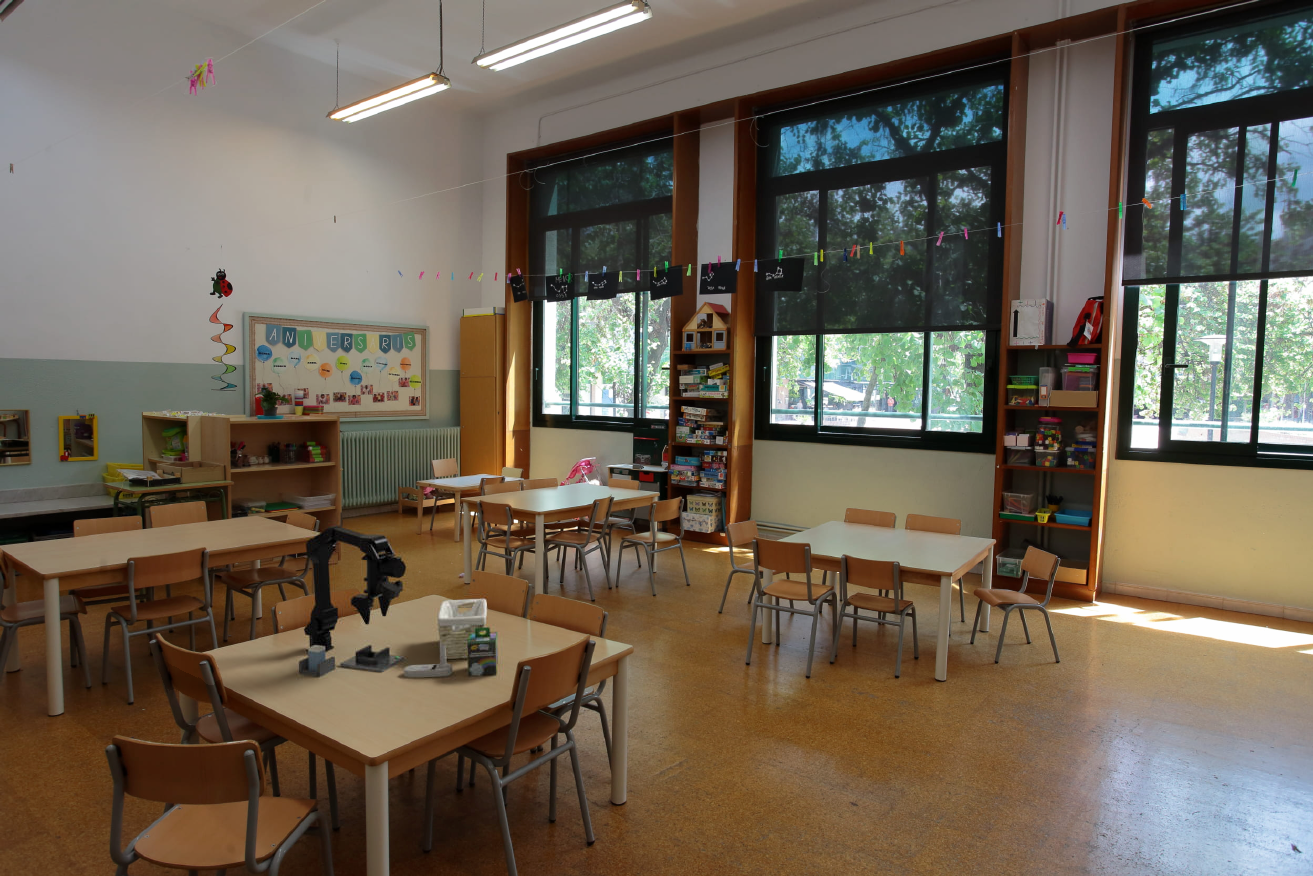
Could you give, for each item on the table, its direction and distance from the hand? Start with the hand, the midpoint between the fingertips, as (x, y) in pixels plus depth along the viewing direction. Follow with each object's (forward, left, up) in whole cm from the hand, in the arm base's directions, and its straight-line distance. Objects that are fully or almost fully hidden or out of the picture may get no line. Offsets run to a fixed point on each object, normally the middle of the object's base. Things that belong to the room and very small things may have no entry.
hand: (375, 620), depth 257 cm
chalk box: (+38, +3, -14) cm, 41 cm away
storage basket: (+21, +20, -14) cm, 32 cm away
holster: (-12, -14, -14) cm, 23 cm away
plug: (-12, -14, -14) cm, 23 cm away
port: (0, -2, -14) cm, 14 cm away
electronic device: (+23, -5, -14) cm, 27 cm away
